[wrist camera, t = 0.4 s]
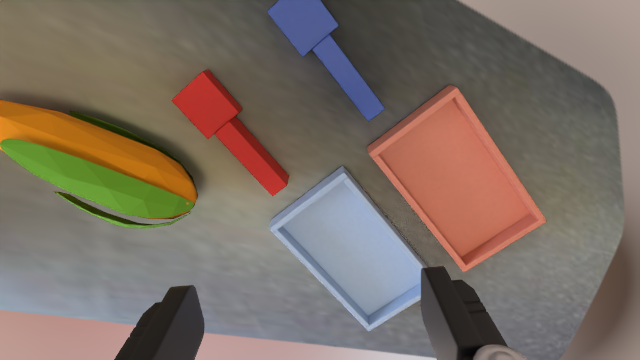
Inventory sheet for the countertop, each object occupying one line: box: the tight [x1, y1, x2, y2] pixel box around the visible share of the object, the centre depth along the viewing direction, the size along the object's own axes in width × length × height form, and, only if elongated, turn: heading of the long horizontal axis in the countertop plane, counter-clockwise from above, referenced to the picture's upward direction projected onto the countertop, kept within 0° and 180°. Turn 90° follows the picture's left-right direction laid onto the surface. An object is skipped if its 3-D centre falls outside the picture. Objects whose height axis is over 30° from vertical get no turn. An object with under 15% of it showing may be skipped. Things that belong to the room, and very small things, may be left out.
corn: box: [0, 100, 198, 229], centre depth 32 cm, size 7×8×20 cm
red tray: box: [367, 85, 546, 272], centre depth 36 cm, size 16×9×2 cm, turn 39°
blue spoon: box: [267, 0, 385, 122], centre depth 31 cm, size 12×4×2 cm, turn 39°
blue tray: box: [269, 166, 427, 331], centre depth 38 cm, size 16×9×2 cm, turn 39°
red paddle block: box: [172, 70, 289, 196], centre depth 34 cm, size 12×4×2 cm, turn 39°
